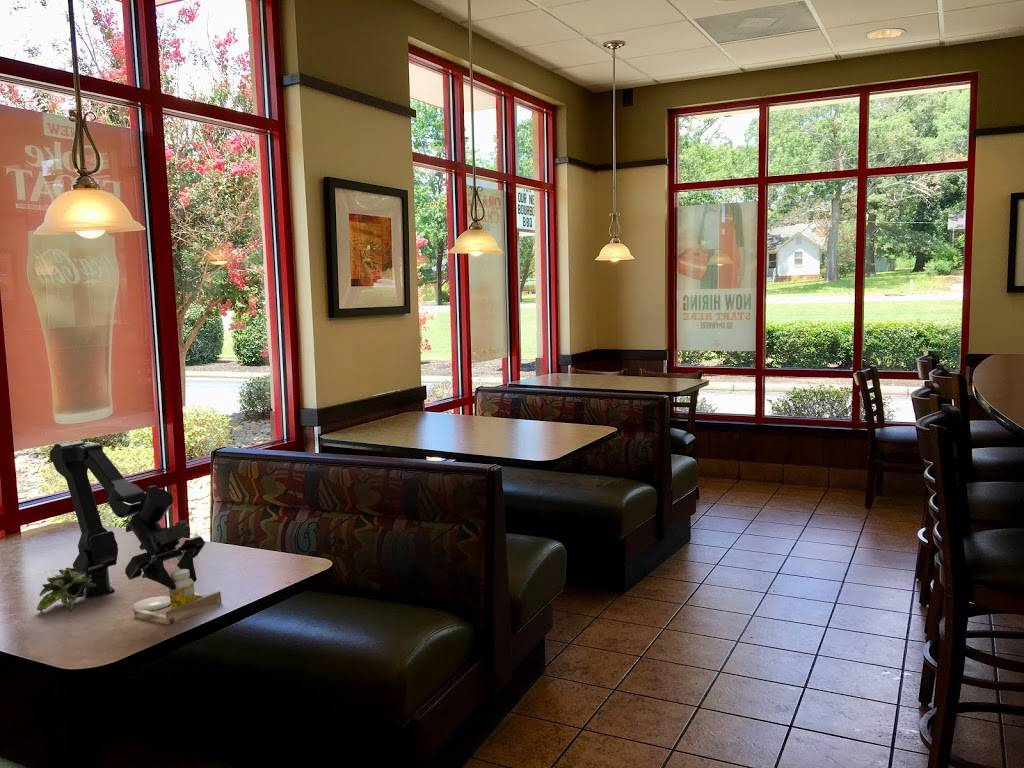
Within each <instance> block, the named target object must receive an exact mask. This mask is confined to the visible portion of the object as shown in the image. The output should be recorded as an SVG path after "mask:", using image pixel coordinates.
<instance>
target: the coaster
mask: <svg viewBox="0 0 1024 768" xmlns="http://www.w3.org/2000/svg"><path fill="white" fill-rule="evenodd" d="M170 604H171V602H170V596H165V595H163V596H162V595H161V596H160V595H159V596H152V597H148V598H144V599H142V600H139V601H137V602H136V603H134V604H133V605H132V610H133V609H134V610H133V611H135V610H137V609H141V610H146V611H150V612H153V611H152V610H154V611H157V609H159V610H161V608H162V609H165V608H167V607H169V606H171V605H170ZM168 605H169V606H168ZM166 606H167V607H166ZM164 607H165V608H164Z"/></svg>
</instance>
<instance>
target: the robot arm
mask: <svg viewBox="0 0 1024 768" xmlns="http://www.w3.org/2000/svg"><path fill="white" fill-rule="evenodd" d="M49 458H50V461H51V462H52V464H53V467H54V469H55V471H56V472H57V473H58V474H59V475H60V476H62V477H63V479H65V481H66V485H67V488H68V491H69V494H70V498H71V501H72V505H73V508H74V512H75V516H76V518H77V523H78V526H79V528H80V537H79V541H78V544H77V550H78V555H77V556H76V558H75V559H74V561H73V563H72V568H76V569H77V572H79V571H82V572H81V573H83V572H86V575H87V576H86V577H89V575H91V577H90V579H92V581H90V582H92V583H96V586H95V587H86V588H85V589H84V591H83V593H84V595H83V596H84V597H86V598H87V599H88V598H93V597H97V596H101V595H106V594H110V593H114V592H115V591H116V590H115V588H114V587H113V586H111V582H110V574H109V573H110V571H109V567H112V566H116V565H117V560H118V555H119V547H118V546H119V544H118V543H117V540H116V537H115V535H116V534H115V532H114V531H113V530H109V531H108V530H107V529H106V528H105V527H104V526H103V523H102V520H101V516H100V513H99V510H98V509H99V508H98V506H97V502H96V499H95V495H94V492H93V488H92V485H91V481H90V478H89V476H88V475H89V474H88V469H89V471H90V472H91V473H92V476H94V478H95V479H96V480H97V481H98V482H99V484H100V485H101V487H102V488H103V489H104V491H105V492H106V493H107V496H108V498H107V503H108V505H109V507H110V509H111V511H112V513H113V514H114V515H115V516H116V517H117V518H125V517H129V516H132V517H130V518H131V519H129V520H127V521H126V527H125V532H126V533H130V532H133V534H134V535H135V537H136V538H137V540H138V541H139V542H140V545H139V549H140V551H144V550H145V551H146V552H144V553H140V554H136V555H134V556H132V557H131V559H130V560H129V562H128V563H127V565H126V566H125V569H124V573H125V576H126V577H127V578H128V580H134V579H136V578H140V577H141V578H142V579H149V580H151V581H154V582H156V583H159V584H160V585H162V586H164V587H167V588H168V589H169V588H170V589H172V590H175V588H176V585H175V583H174V581H173V580H172V578H171V574H169V572H168V571H167V569H166V568H165V566H164V562H166V561H169V560H172V559H174V558H176V559H177V560H178V563H177V565H176V567H178V568H179V570H180V569H188V570H189V573H190V576H189V578H191V579H192V580H193V582H194V583H195V582H196V581H197V579H198V577H197V574H196V570H195V565H194V559H195V558H196V557H197V556H198V555H199V553H200V552H201V551H202V550H203V548H204V546H205V545H206V541H205V540H204V538H203V537H202V536H201V535H200V536H199V535H197V536H194V537H190V538H186V537H187V534H188V533H189V532H190V531H191V527H190V525H189V524H188V522H187V521H186V520H185V519H182V520H178V521H177V522H175V523H174V525H172V526H169V527H166V526H162V525H161V524H160V521H162V520H163V519H164V517H166V515H167V512H168V511H169V509H170V508H171V506H172V505H173V503H174V497H173V495H172V493H171V492H169V491H167V490H165V489H162V488H158V486H157V485H151V486H148V487H147V489H146V491H144V490H143V489H141V487H139V485H137V484H135V483H133V482H130V481H128V480H127V479H126V478H125V476H123V475H122V473H121V472H120V471H119V470H118V468H117V467H116V466H115V465H114V464H113V462H112V461H111V459H110V458H109V457H108V455H107V454H106V453H105V452H104V448H103V446H102V445H101V444H100V443H98V442H90V443H86V442H84V441H83V440H81V439H79V440H73V441H67V442H62V443H55V444H54V445H53V446H52V449H51V450H50V451H49ZM182 538H186V539H185V540H184V542H183V543H182V544H181V546H180V547H177V546H178V545H179V544H180V540H181V539H182Z"/></svg>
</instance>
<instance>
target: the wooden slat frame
mask: <svg viewBox="0 0 1024 768" xmlns="http://www.w3.org/2000/svg"><path fill="white" fill-rule="evenodd" d="M194 593H195V600H194V601H191V602H189V603H186V604H184V605H181V606H179V607H176V608H174V609H171V608H170V610H166V611H165V614H161V613H158V612H155V611H146V610H141V609H137V610H133V612H134V614H133V615H134V617H135V618H137V617H138V619H141V618H142V619H141V620H145V619H147V620H146V621H150V620H152V621H151V622H154V621H156V622H155V623H158V622H160V623H159V624H162V623H165V624H164V625H166V624H169V625H168V626H172V625H174V624H177V623H179V622H181V621H184V620H186V619H188V617H189V618H191V617H193V616H196V615H198V614H200V612H201V613H203V612H205V611H208V610H210V609H213V608H214V607H217V606H220V605H221V604H222V593H221V591H219V590H216V591H214V592H212V593H209V594H206V593H200V592H196V591H194ZM219 604H220V605H219ZM195 614H196V615H195ZM190 616H191V617H190ZM185 618H186V619H185ZM183 619H184V620H183ZM180 620H181V621H180ZM178 621H179V622H178ZM176 622H177V623H176ZM173 623H174V624H173ZM171 624H172V625H171Z"/></svg>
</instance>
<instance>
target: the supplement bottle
mask: <svg viewBox="0 0 1024 768" xmlns="http://www.w3.org/2000/svg"><path fill="white" fill-rule="evenodd" d="M189 576H190V573H189V570H188V569H180V568H179V569H175V570H174V571H171V572H170V577H171V578H172V580H173V581H174V583H175V585H176V588H175V590H172V589H170V588H168V590H169V597H170V602H171V605H170V610H171V609H174V608H176V607H179V606H181V605H184V604H186V603H189V602H191V601H194V600H195V593H194V592H195V586H194V583H195V582H193V580H192V579H191V578H189Z"/></svg>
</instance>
